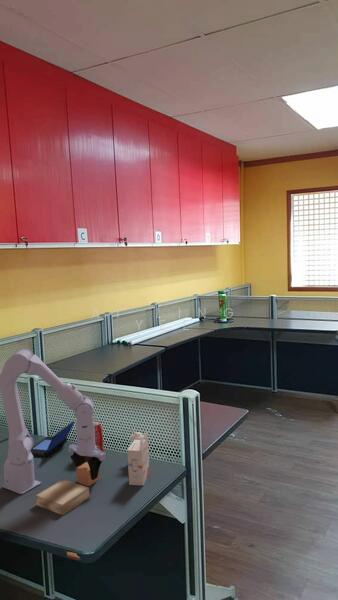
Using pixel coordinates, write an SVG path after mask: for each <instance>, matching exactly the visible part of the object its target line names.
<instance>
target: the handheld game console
mask: <svg viewBox="0 0 338 600" xmlns="http://www.w3.org/2000/svg"><path fill="white" fill-rule="evenodd" d="M74 425H75V421H74V420H73V421H72V422H70V423H69V424H68V425H65V427H63V428H62V429H60V430H59V431H58V432H57V433H55V434H54V435H53V436H46V437H44V438H43V439H41V440H40V441H39V442H37V443H35V445H33V448H32V449H31V453H32V455H33V457H36V458H48V457H49V456H50V455H52V454H53V453H54V452H55V450H57V449H59V448H60V447H62V446H63V445H64V444H65V443H67V442H68V436H69V435H70V432H71V430H72V429H73V426H74Z"/></svg>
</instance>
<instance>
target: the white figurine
mask: <svg viewBox="0 0 338 600" xmlns="http://www.w3.org/2000/svg"><path fill="white" fill-rule="evenodd" d="M130 431H131V432H132V433H133V434H131V435H130V436H129V442H130V443H131V442H133V441H134V440H141V439H142V437H143V436H144V434H142V433H141V432H140V431H137V432H136V430H135V429H133V428H130Z"/></svg>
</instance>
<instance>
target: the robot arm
mask: <svg viewBox="0 0 338 600" xmlns="http://www.w3.org/2000/svg"><path fill="white" fill-rule="evenodd" d="M25 373H26V375H27V376H37V377H38V378H40V379H41V380H42V381H43V382H45V383H46V384H47V385H49V386H50V387H51V389H54V390H55V392H56V398H57V399H59V400H60V401H61V403H63V404H64V405H65V406H67V407H68V408H69V410H71V411H73V412H74V413H73V415H74V417H75V418H76V423H75V425H76V427H75V428H76V444H73V443H72V444H70V445H69V446H67V447H68V453H73V454H72V455H70V459H71V460H72V462H73V463H74V466H75V468H76V469H77V467H78V466H80V465H82V464H84V463H86V462H87V463H88V465H89V468H90V473H91V479H92V480H95V479H96V478H97V477H98V472H99V473H100V468H101V466H102V465H101V464H102V462H104V460H106V459H107V457H106V456H107V455H106V452H104V451H103V452H102V451H100V450H99V449H97V446H96V445H95V428H94V421H93V420H95V417H94V409H95V405H94V402H93V400H92V399H91V398H90V397H89V396H86V395H85V394H84V395H83V394H82V393H81V392H80V391H79V390H78V389H77V386H76V384H74V383H73V384H71V383H70V382H63V380H61V379H60V378H59V377H58V376H57V375H56V374H55V372H54V371H52V369H50V368H49V367H48V366H47V365H46V363H44V362H43V360H42V359H40V357H39V356H38V355H36V354H34V353H33V352H32V351H31V350H30V349H28V348H24V347H23V348H20V349H18V350H17V351H16V352H14V353H13V355H11V356H9V358H8V359H7V360H6V361H5V362H4V365H3V368H2V371H1V372H0V395H1V400H2V404H3V410H4V414H5V415H4V416H5V418H6V419H5V420H6V425H7V429H8V434H9V435H8V444H7V445H8V451H7V459H6V460H5V462H4V465H3V477H4V484H3V485H2V488H4V489H7V490H9V491H11V492H14V493H17V494H20V495H24V494H25V493H27V492H29V491H30V490H32V489H35V488H36V487H37V486H39V485H41V484H42V481H39V480H36V479H35V478H36V476H35V465H34V464H35V463H34V461H35V460H34V456H33V455H32V453H31V449H32V448H33V446H34V439H33V437H31V435H30V433H29V430H28V429H27V427H26V424H25V418H24V412H23V409H22V404H21V403H22V402H21V399H20V393H19V389H18V383H17V380H18V378H19V377H20V376H21V375H23V374H25ZM88 456H90V457H89V458H90V459H88V460H87V461H86V459H87V457H88Z"/></svg>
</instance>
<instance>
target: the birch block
mask: <svg viewBox="0 0 338 600" xmlns="http://www.w3.org/2000/svg"><path fill="white" fill-rule="evenodd" d="M88 499H90V487H89V486H86V485H83V484H80V483H76V482H73V481H69V480H67V479H61V480H59V481H58V482H55V484H53V485H51V486H49V487H48V488H46V489H44V490H42V491H40V492H39V493H37V494H35V501H36V503H35V504H36V506H38V507H40V508H42V509H43V508H44V509H45V510H49V511H51V512H54V513H56V514H59V515H61V516H64V515H66V514H67V513H68V512H71V511H72V510H73V509H74V508H76V507H77V506H79V505H81V504H82V503H84V502H85V501H87V500H88Z"/></svg>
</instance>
